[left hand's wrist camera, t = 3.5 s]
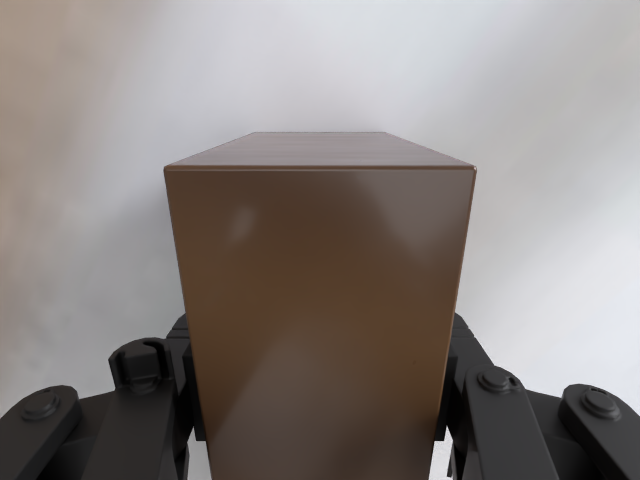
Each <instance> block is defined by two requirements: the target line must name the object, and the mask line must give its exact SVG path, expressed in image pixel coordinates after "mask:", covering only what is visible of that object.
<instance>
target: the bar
mask: <svg viewBox="0 0 640 480" xmlns="http://www.w3.org/2000/svg"><path fill="white" fill-rule="evenodd" d="M476 173H477V169H476V166H473V165H471V164H468V163H466V162H463V161H460V160H458V159H455V158H452V157H450V156H447V155H444V154H442V153H439V152H436V151H434V150H431V149H428V148H426V147H423V146H420V145H418V144H415V143H412V142H410V141H407V140H404V139H402V138H399V137H396V136H394V135H391V134H388V133H386V132H255V133H252V134H249V135H247V136H244V137H241V138H239V139H236V140H233V141H231V142H228V143H225V144H223V145H220V146H217V147H215V148H212V149H209V150H207V151H204V152H201V153H199V154H196V155H193V156H191V157H188V158H185V159H183V160H180V161H177V162H175V163H172V164H169V165H167V166H165V167H164V177H165V184H166V190H167V196H168V203H169V209H170V216H171V222H172V228H173V235H174V241H175V247H176V254H177V260H178V267H179V273H180V279H181V286H182V292H183V299H184V305H185V311H186V318H187V324H188V331H189V337H190V343H191V350H192V356H193V363H194V369H195V375H196V382H197V388H198V395H199V401H200V407H201V414H202V420H203V427H204V433H205V439H206V446H207V452H208V459H209V465H210V471H211V478H212V480H428V479H429V473H430V467H431V460H432V454H433V448H434V441H435V435H436V428H437V422H438V416H439V409H440V403H441V396H442V390H443V384H444V377H445V371H446V365H447V358H448V352H449V345H450V339H451V333H452V326H453V320H454V313H455V307H456V301H457V294H458V288H459V282H460V275H461V269H462V262H463V256H464V250H465V243H466V237H467V230H468V224H469V218H470V211H471V205H472V199H473V192H474V186H475V179H476Z"/></svg>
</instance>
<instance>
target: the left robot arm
mask: <svg viewBox="0 0 640 480" xmlns="http://www.w3.org/2000/svg"><path fill="white" fill-rule="evenodd" d="M108 361H109V365H110V369H111V372H112V376H113V380H114V384H115V391H112V392H108V393H105V394H100V395H96V396H92V397H87V398H83V399H79V397H78V394H77V391H76V390H75V389H74V388H72V387H71V386H64V385H60V386H52V387H48V388H45V389H42V390H39V391H36V392H34V393H33V394H31V395H29V396H27V397H25V398H23V399H22V400H21V401H19V402H18V403H17V404H16V405H14V406H13V407H12V408H11V409H10V410H9V411H8V412H7V413H6V414H5V415H4V416H3V417H2V418H1V419H0V480H187V476H188V465H189V449H188V444H187V441H188V439H189V436H190V434H191V431H192V429H193V426H194V431H195V437H196V441H206V439H205V433H204V427H203V420H202V414H201V407H200V401H199V395H198V388H197V382H196V375H195V369H194V363H193V356H192V350H191V343H190V337H189V331H188V324H187V318H186V313H185V314H184V315H183V316H181V317H180V318H179V319H178V320H177V322H176V323H175V325H174V326H173V328H172V330H171V331H170V332H169V334H168V335H167V336H166V339H160V338H156V337H153V338H142V339H138V340H134V341H132V342H129V343H127V344H125V345H123V346H121V347H120V348H119V349H117V350H116V351H115V352H113V354H112V355H111V356H110V358H109V359H108ZM446 426H448V429H449V431H450V434H451V436H452V439H453V444H452V449H451V455H450V460H449V466H448V472H447V477H452V475H453V480H640V416H639V415H638V414H637V413H636V412H635V411H634V410H633V409H632V408H631V407H630V406H628V405H627V404H626V403H625V402H623V401H622V400H621V399H620V398H618V397H617V396H615V395H613V394H611V393H609V392H607V391H605V390H603V389H600V388H597V387H594V386H591V385H584V384H574V385H569V386H568V387H567V388H565V389H564V391H563V395H562V398H559V397H555V396H551V395H546V394H542V393H537V392H534V391H530V390H527V389H525V388H524V386H523V385H522V383H521V382H520V380H519V379H518V378H517V377H515V376H514V375H513V374H512V373H510V372H508V371H506V370H504V369H503V368H501V367H497V366H494V364H493V363H492V361H491V360H490V358H489V357H488V355H487V354H486V352H485V351H484V349H483V348H482V347H481V345H480V344H479V342H478V341H477V339H476V338H474V335H473V333H472V332H471V330H470V329H468V326H467V324H466V323H465V321H464V320H463V318H462V317H461V316H459V315H458V314H457V313H454V320H453V326H452V333H451V339H450V345H449V352H448V358H447V365H446V371H445V377H444V384H443V390H442V396H441V403H440V409H439V416H438V422H437V428H436V435H435V441H444V438H445V432H446Z"/></svg>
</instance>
